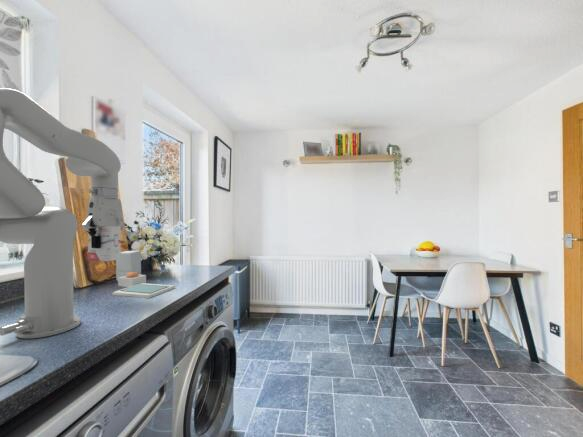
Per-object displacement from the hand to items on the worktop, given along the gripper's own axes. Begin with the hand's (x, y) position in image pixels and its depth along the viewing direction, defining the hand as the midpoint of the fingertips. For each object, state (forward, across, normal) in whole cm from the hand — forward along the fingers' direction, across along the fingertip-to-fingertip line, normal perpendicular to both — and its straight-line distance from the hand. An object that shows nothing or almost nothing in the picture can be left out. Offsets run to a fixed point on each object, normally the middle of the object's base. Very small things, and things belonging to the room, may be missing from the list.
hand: (104, 246), depth 93 cm
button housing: (+18, +21, +9) cm, 29 cm away
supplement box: (+18, +29, +19) cm, 39 cm away
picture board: (+18, +14, -4) cm, 23 cm away
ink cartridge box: (+5, 0, 0) cm, 5 cm away
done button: (+16, +21, +9) cm, 28 cm away
